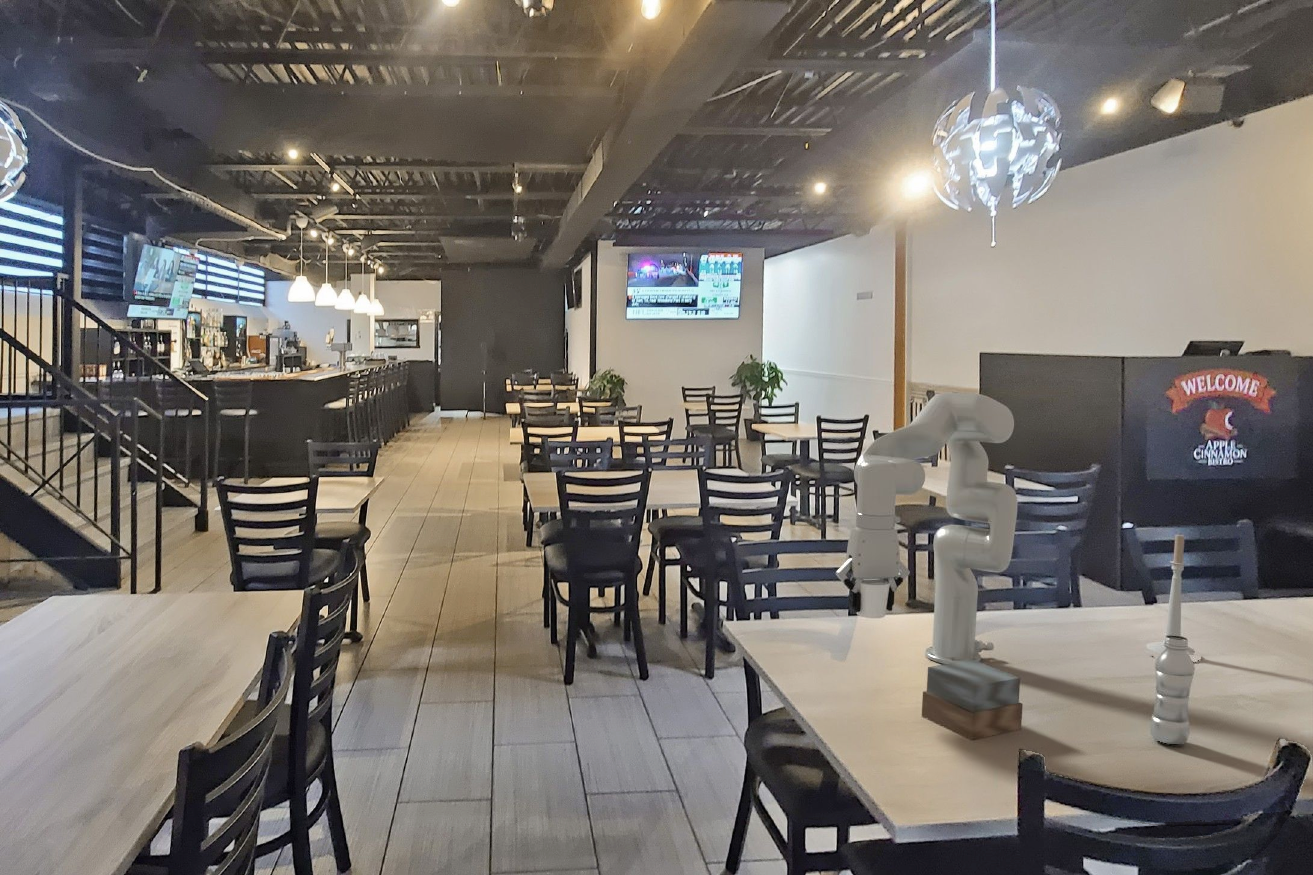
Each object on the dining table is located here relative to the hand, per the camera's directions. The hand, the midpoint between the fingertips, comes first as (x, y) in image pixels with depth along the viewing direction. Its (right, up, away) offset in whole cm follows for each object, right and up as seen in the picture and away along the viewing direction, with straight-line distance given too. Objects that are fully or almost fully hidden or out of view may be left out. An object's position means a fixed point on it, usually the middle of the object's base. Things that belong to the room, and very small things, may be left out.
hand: (871, 608), depth 197 cm
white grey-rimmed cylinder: (0, -1, 0) cm, 1 cm away
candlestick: (+82, -19, +41) cm, 94 cm away
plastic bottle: (+52, -22, -15) cm, 59 cm away
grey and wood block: (+17, -21, -8) cm, 28 cm away
